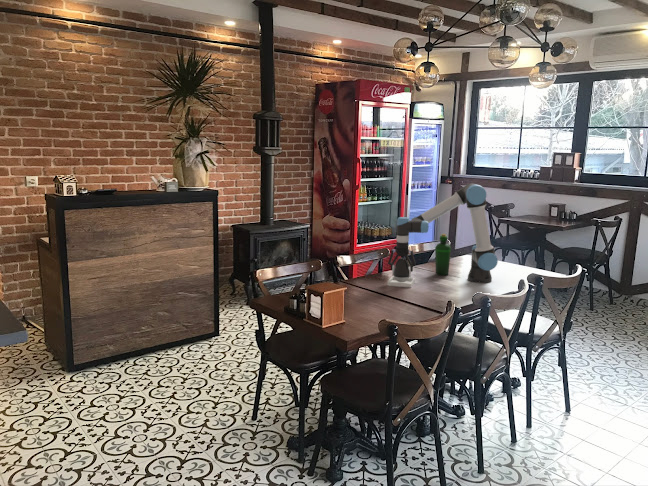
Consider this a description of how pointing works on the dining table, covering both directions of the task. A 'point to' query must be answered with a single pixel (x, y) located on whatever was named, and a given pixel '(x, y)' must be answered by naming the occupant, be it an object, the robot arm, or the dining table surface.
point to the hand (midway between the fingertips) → (401, 276)
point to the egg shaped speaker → (401, 270)
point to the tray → (407, 283)
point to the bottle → (442, 256)
